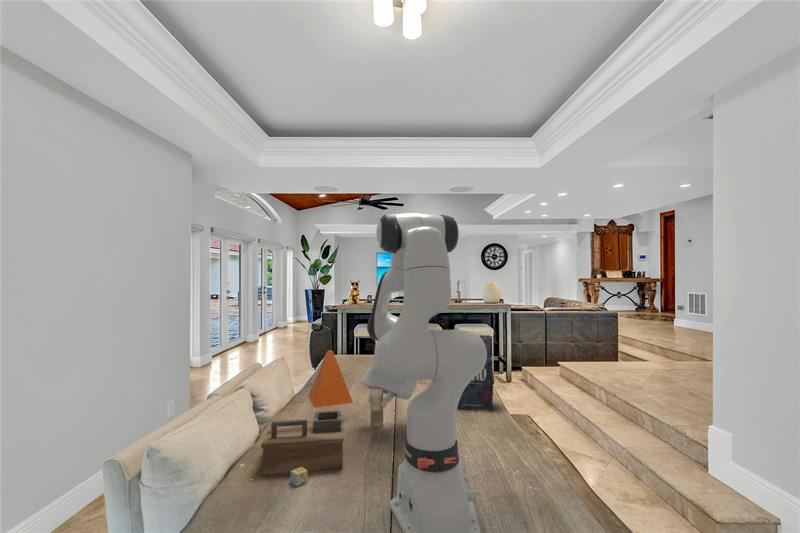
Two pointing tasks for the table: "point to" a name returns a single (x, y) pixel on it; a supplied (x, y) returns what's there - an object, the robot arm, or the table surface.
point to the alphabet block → (298, 476)
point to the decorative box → (479, 385)
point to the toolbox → (304, 444)
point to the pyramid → (329, 384)
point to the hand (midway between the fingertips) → (375, 404)
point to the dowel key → (376, 408)
